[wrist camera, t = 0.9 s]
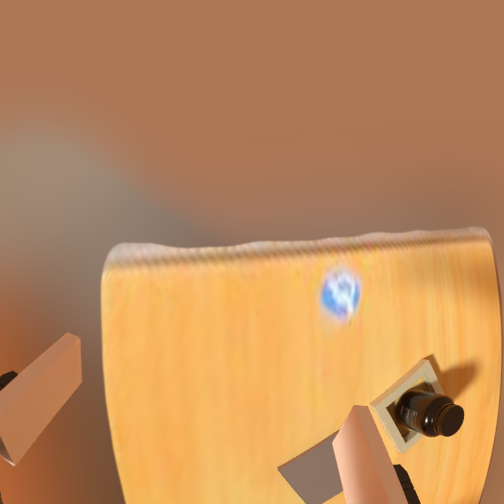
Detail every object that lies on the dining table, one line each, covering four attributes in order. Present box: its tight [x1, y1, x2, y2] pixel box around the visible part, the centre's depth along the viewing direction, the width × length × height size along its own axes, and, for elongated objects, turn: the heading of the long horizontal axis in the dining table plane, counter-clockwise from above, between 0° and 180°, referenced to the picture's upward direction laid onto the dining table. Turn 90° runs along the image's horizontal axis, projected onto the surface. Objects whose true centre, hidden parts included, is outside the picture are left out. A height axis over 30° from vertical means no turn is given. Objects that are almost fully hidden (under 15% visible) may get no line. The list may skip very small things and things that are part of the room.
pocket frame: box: [369, 359, 445, 454], centre depth 40 cm, size 12×12×2 cm
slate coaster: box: [278, 431, 343, 504], centre depth 38 cm, size 11×11×1 cm
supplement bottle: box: [395, 389, 464, 437], centre depth 36 cm, size 7×7×12 cm
